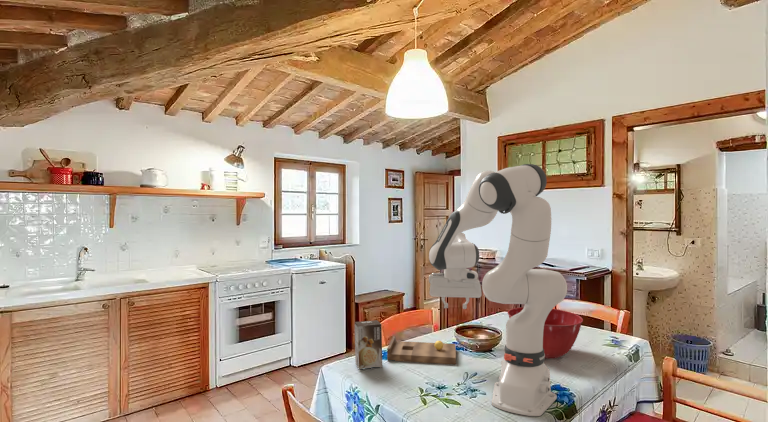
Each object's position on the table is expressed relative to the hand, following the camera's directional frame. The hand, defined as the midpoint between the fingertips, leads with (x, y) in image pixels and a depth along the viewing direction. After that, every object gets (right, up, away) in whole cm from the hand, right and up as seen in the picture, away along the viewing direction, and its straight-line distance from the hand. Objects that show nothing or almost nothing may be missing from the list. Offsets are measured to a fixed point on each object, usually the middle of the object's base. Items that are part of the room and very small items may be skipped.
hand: (455, 308), depth 160 cm
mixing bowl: (+37, -19, +4) cm, 42 cm away
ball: (-6, -15, +1) cm, 16 cm away
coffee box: (-34, -20, -9) cm, 40 cm away
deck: (-13, -19, +2) cm, 23 cm away
